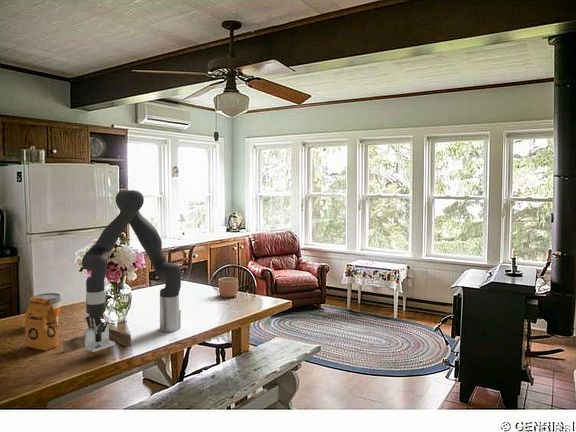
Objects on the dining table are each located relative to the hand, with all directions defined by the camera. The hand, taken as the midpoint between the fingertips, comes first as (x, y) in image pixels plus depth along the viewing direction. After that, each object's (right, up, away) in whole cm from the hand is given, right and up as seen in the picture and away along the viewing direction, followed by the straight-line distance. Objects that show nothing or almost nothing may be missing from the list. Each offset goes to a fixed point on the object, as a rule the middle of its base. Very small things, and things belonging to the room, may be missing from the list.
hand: (97, 340), depth 188 cm
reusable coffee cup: (-40, -2, +35) cm, 53 cm away
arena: (-3, -5, +7) cm, 9 cm away
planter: (+42, +1, +97) cm, 106 cm away
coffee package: (-27, -5, +7) cm, 29 cm away
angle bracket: (+2, -2, -1) cm, 3 cm away
